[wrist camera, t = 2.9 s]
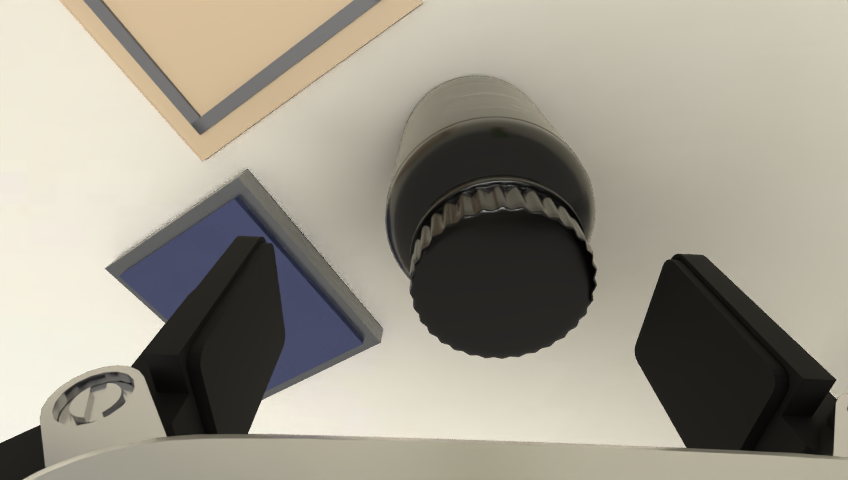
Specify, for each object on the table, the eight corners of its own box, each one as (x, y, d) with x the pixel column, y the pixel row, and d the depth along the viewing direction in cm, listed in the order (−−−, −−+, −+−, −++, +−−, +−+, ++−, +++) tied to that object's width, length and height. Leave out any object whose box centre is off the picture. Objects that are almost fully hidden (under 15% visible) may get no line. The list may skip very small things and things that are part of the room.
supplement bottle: (377, 168, 23) (319, 317, 12) (453, 42, 20) (464, 93, 9) (489, 234, 24) (525, 419, 14) (574, 126, 21) (704, 254, 11)
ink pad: (383, 329, 27) (379, 347, 26) (261, 389, 30) (252, 408, 29) (247, 168, 23) (234, 180, 21) (118, 257, 26) (100, 272, 24)
